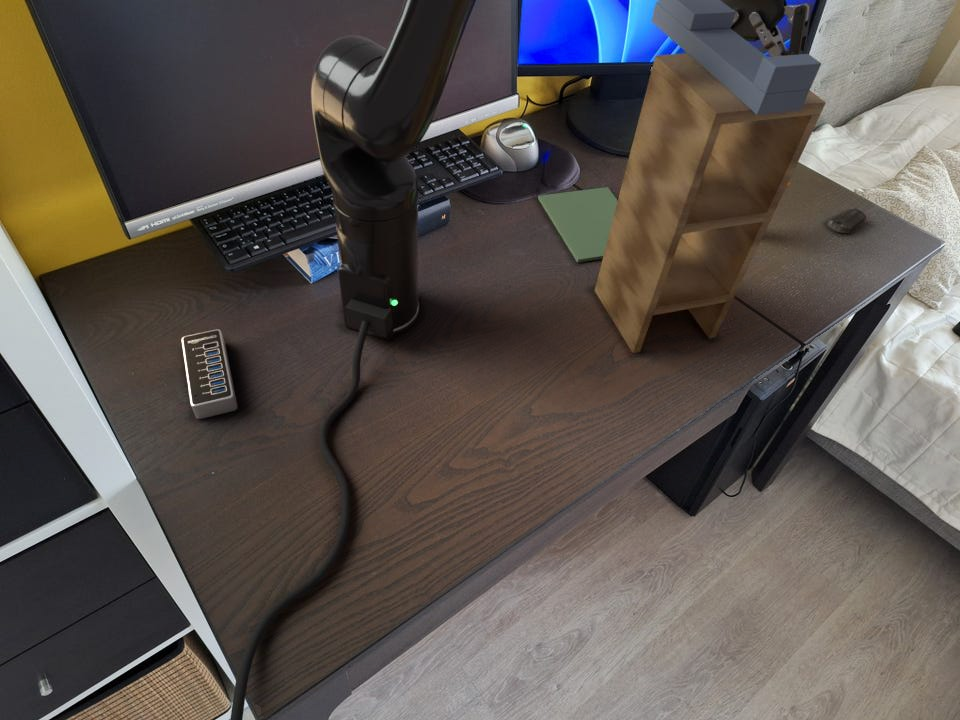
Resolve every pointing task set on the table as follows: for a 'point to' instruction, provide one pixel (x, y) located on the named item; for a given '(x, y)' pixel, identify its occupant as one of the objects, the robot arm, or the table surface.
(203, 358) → the multiport hub
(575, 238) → the mat
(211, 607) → the table surface
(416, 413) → the table surface
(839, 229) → the dark grey rounded device
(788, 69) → the grey stepped plank
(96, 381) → the table surface
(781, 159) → the open shelf unit
